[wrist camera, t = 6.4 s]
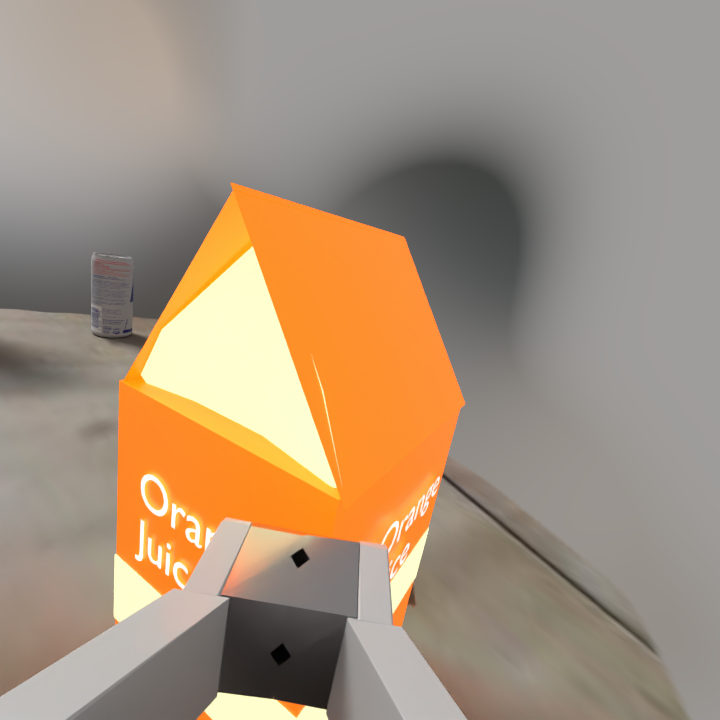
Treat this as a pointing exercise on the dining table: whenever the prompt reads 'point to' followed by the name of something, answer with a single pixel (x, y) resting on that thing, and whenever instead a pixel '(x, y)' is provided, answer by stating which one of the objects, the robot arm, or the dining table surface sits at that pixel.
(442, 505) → the dining table surface
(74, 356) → the dining table surface
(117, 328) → the energy drink
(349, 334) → the orange juice
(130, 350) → the dining table surface
